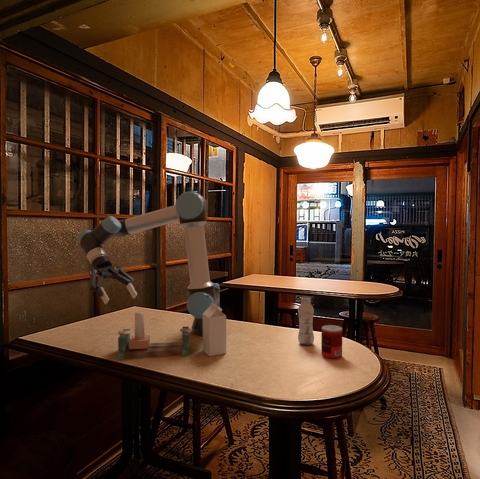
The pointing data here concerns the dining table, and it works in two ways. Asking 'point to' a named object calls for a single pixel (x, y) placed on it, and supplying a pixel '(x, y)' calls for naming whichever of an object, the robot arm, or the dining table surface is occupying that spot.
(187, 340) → the rail board
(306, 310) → the plastic bottle
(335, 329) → the canned food
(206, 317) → the milk carton
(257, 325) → the dining table surface
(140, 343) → the carriage
